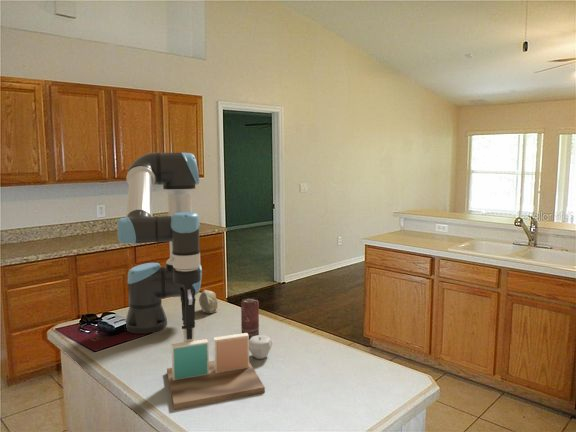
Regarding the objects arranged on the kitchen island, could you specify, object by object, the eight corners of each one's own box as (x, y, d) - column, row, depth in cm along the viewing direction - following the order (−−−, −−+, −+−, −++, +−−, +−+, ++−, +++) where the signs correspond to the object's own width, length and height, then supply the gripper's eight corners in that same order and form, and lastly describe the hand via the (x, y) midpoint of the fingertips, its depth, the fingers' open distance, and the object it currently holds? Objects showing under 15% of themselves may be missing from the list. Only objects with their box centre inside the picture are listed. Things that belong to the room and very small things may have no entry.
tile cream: (214, 369, 129) (213, 337, 128) (247, 364, 133) (247, 332, 131) (216, 373, 127) (215, 340, 125) (249, 368, 130) (249, 335, 129)
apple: (273, 361, 138) (273, 341, 137) (248, 363, 137) (248, 343, 136) (270, 350, 146) (270, 331, 145) (246, 351, 144) (246, 332, 143)
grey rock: (209, 320, 178) (206, 301, 173) (194, 313, 182) (190, 294, 177) (224, 307, 185) (222, 288, 180) (209, 300, 189) (207, 282, 184)
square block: (172, 376, 125) (171, 344, 123) (207, 370, 128) (207, 338, 126) (173, 381, 123) (172, 348, 121) (209, 375, 126) (208, 342, 124)
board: (167, 373, 130) (166, 368, 130) (245, 360, 138) (245, 355, 138) (174, 409, 112) (173, 404, 111) (264, 392, 120) (264, 387, 120)
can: (257, 342, 152) (256, 303, 150) (239, 340, 153) (238, 301, 151) (261, 335, 158) (261, 297, 156) (244, 333, 159) (244, 296, 157)
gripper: (170, 263, 128) (173, 341, 131) (175, 275, 115) (178, 360, 119) (196, 261, 130) (198, 337, 133) (204, 272, 118) (206, 355, 121)
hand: (189, 348), depth 126 cm, fingers closed
